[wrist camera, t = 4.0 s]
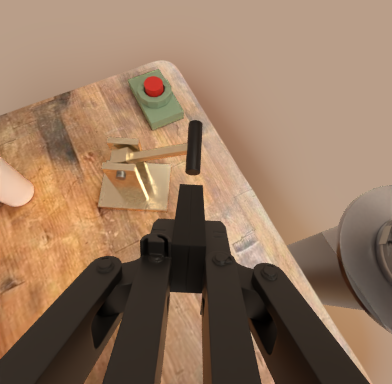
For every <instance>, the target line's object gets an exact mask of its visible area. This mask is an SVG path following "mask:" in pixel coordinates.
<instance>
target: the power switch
mask: <svg viewBox="0 0 392 384" xmlns="http://www.w3.org/2000/svg"><path fill="white" fill-rule="evenodd" d="M107 144H108V146H109V148H110V150H111V151H112V150H116V149H121V148H126V147H128V148H129V149H130V150H132V151H133V152H139V151H143V150H142V147H141V144H140V140H139V139H134V138H119V137H108V138H107ZM109 162H110V160H107V161H106V162H103V163H102V168H101V169H102V170H103V172H104V176H103V182H102V187H101V192H100V197H99V202H98V207H99V208H100V209H116V210H133V211H149V212H166V213H167V212H168V201H169V190H170V179H171V168H172V167H171V164H157V163H146V161H142V162H136V165H135V164H122V163H109Z"/></svg>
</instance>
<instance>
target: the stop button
mask: <svg viewBox="0 0 392 384" xmlns="http://www.w3.org/2000/svg"><path fill="white" fill-rule="evenodd" d="M144 87H145V92H146V94H147V95H148V96H150V97H158V96H160V95H161V94H162V93H163V90H164V89H163V82H162V80H161V79H160V78H159V77H156V76H151V77H148V78H147V79H146V80H145V81H144Z"/></svg>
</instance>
